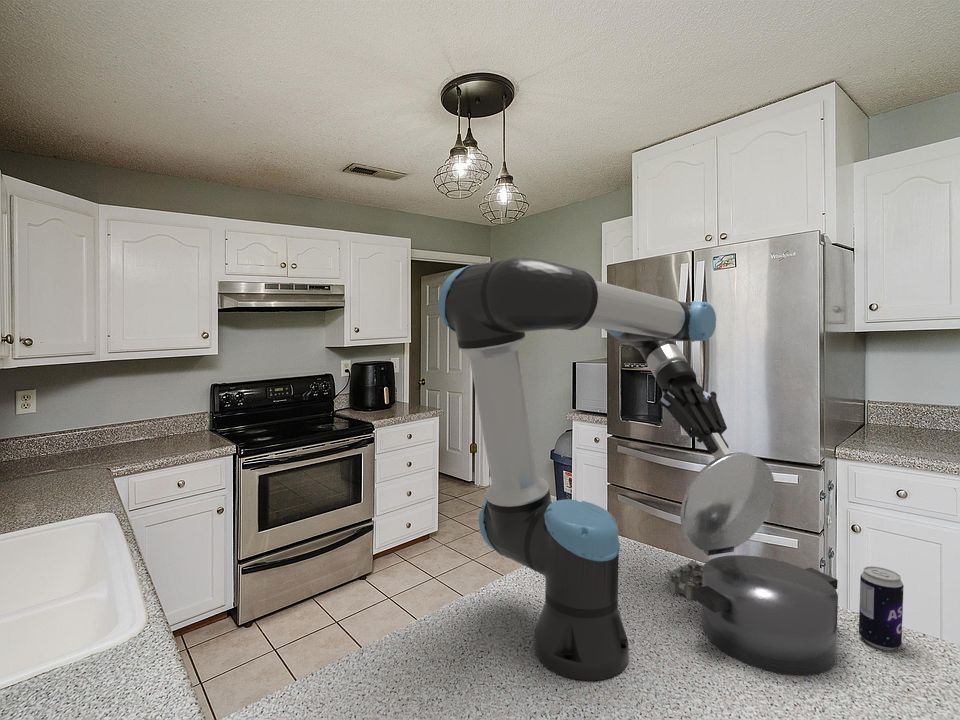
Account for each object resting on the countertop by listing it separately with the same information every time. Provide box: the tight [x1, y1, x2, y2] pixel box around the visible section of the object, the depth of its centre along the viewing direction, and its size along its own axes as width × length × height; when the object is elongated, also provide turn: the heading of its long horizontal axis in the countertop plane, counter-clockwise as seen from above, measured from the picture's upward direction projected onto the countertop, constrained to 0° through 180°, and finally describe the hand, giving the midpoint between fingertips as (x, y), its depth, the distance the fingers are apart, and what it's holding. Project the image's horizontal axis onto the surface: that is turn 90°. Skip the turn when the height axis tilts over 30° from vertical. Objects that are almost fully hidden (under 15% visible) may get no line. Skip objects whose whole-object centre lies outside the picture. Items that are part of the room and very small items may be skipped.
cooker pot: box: [693, 554, 839, 676], centre depth 88 cm, size 26×20×10 cm
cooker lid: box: [679, 451, 776, 556], centre depth 96 cm, size 20×20×2 cm
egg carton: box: [665, 559, 704, 601], centre depth 106 cm, size 11×8×4 cm
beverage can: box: [858, 566, 905, 651], centre depth 86 cm, size 6×6×12 cm
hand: (728, 466), depth 96 cm, fingers closed
